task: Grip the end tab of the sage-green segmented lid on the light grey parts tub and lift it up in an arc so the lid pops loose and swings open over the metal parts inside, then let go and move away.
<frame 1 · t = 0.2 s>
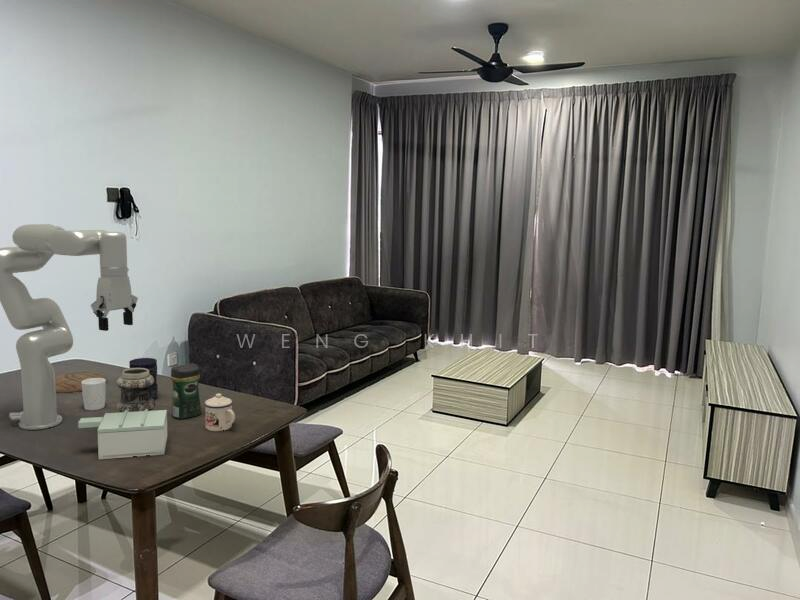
hand: (116, 327, 188), 36 cm above the table, tool pointing down, fingers open, 9 cm apart
lid: (123, 420, 185), point 9 cm above the table, hinge at 0.0°
apothecary jar: (136, 421, 209), on the table
storage jar: (144, 399, 232), on the table
coffee jar: (186, 415, 217), on the table
teacup with lid: (221, 428, 206), on the table
white cup: (94, 407, 221), on the table
tub: (134, 447, 187), on the table
trivet: (73, 385, 246), on the table
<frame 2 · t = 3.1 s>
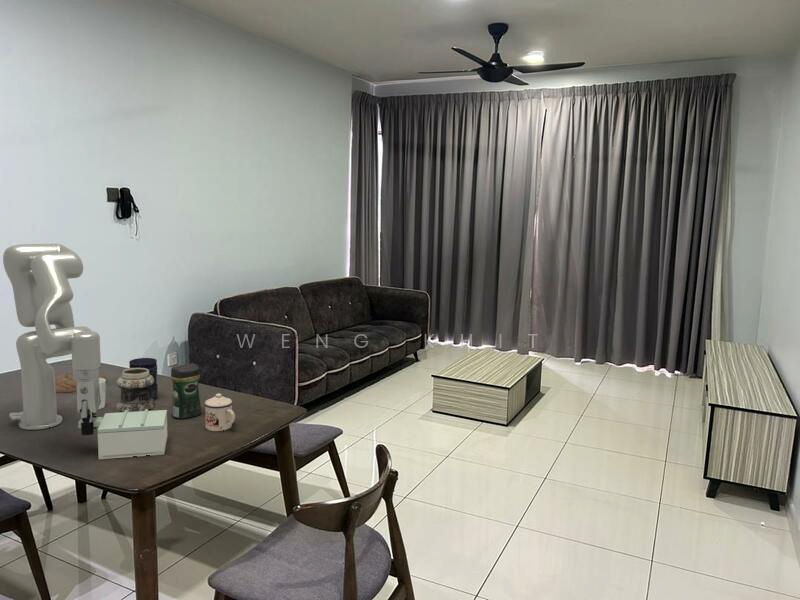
hand: (89, 431, 183), 6 cm above the table, tool pointing down, fingers closed on lid, 4 cm apart
lid: (123, 420, 185), point 9 cm above the table, hinge at 0.0°, touching gripper
everything else where it was.
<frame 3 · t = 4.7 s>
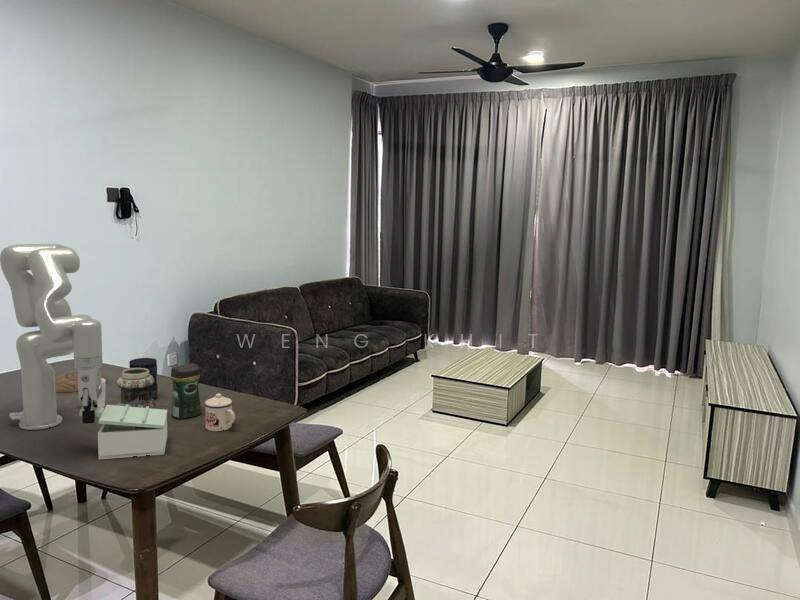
hand: (90, 419, 182), 10 cm above the table, tool pointing down, fingers closed on lid, 4 cm apart
lid: (124, 414, 185), point 11 cm above the table, hinge at 9.1°, touching gripper
everything else where it was.
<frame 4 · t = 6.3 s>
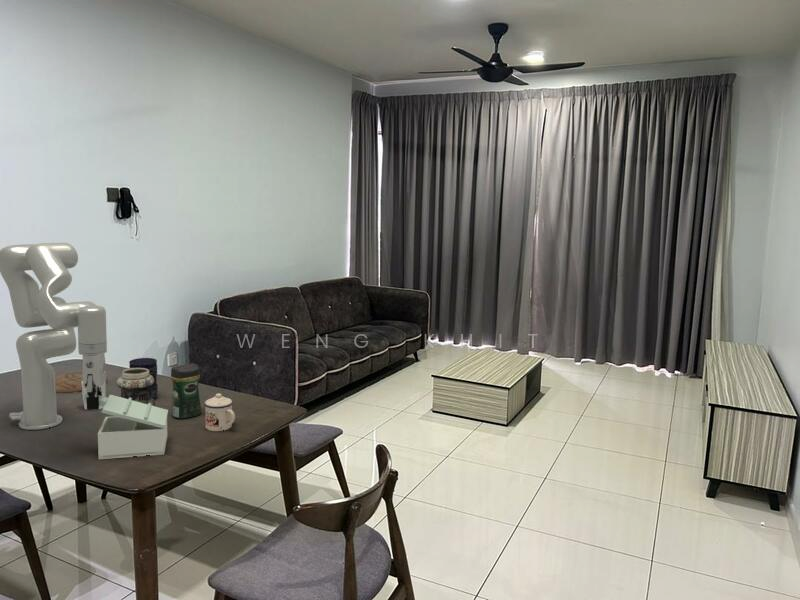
hand: (94, 406, 182), 14 cm above the table, tool pointing down, fingers closed on lid, 4 cm apart
lid: (126, 407, 185), point 13 cm above the table, hinge at 20.0°, touching gripper
everything else where it was.
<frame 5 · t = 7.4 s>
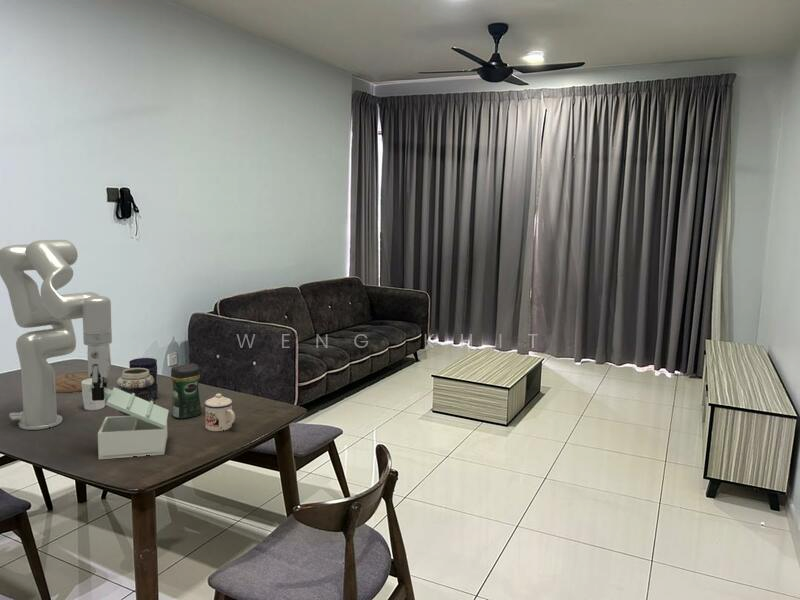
hand: (99, 396, 182), 17 cm above the table, tool pointing down, fingers closed on lid, 4 cm apart
lid: (129, 402, 185), point 15 cm above the table, hinge at 28.2°, touching gripper
everything else where it was.
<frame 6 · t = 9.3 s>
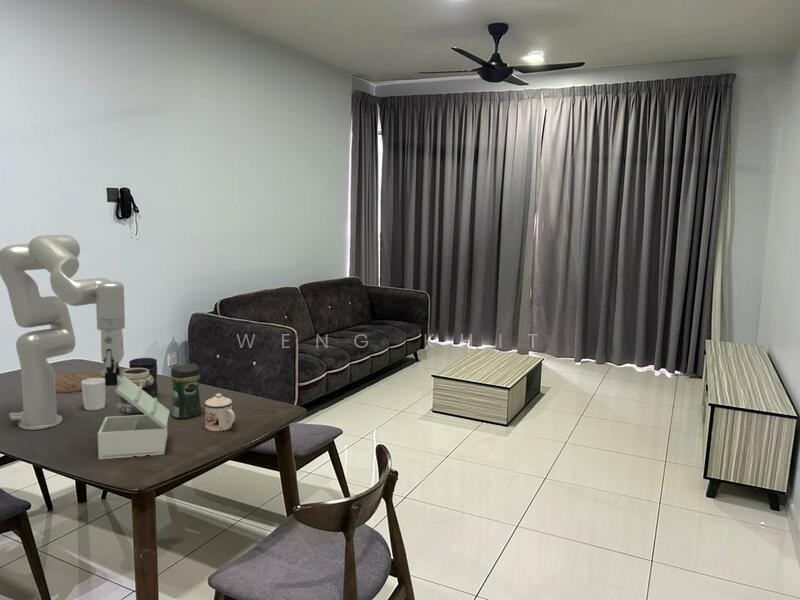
hand: (112, 382, 182), 21 cm above the table, tool pointing down, fingers closed on lid, 4 cm apart
lid: (136, 394, 185), point 17 cm above the table, hinge at 43.1°, touching gripper
everything else where it was.
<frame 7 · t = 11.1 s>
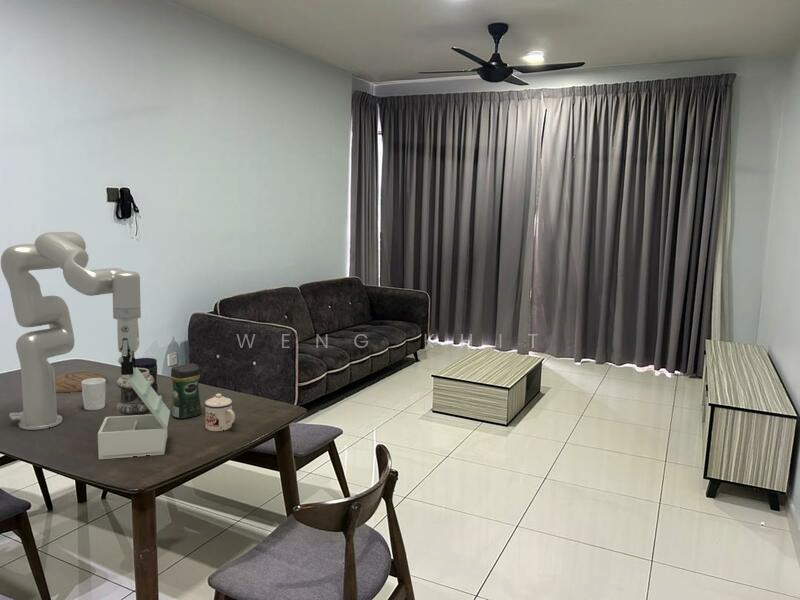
hand: (128, 371, 183), 24 cm above the table, tool pointing down, fingers closed on lid, 4 cm apart
lid: (145, 388, 185), point 19 cm above the table, hinge at 57.3°, touching gripper
everything else where it was.
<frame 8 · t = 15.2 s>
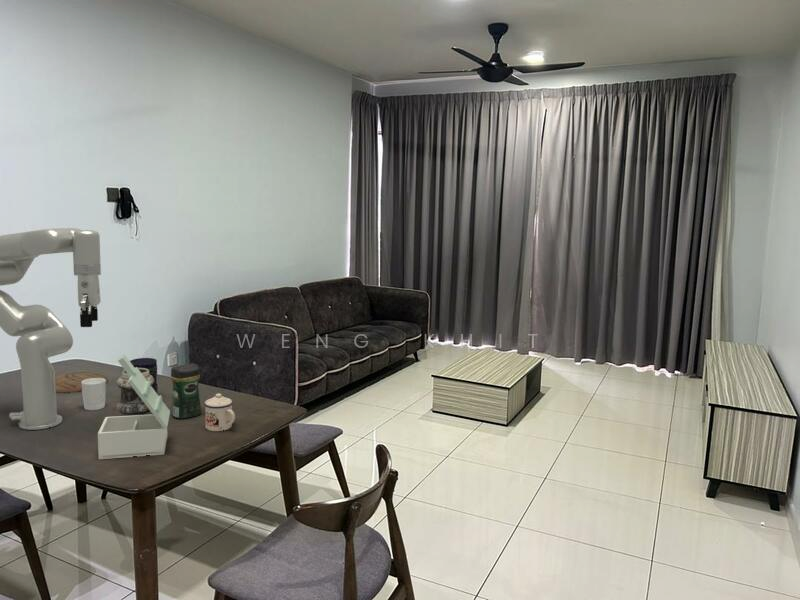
hand: (89, 323, 192), 36 cm above the table, tool pointing down, fingers open, 9 cm apart
lid: (145, 388, 185), point 19 cm above the table, hinge at 57.6°
everything else where it was.
at the end: lid at +58° (first picture: +0°); the gripper is holding nothing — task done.
